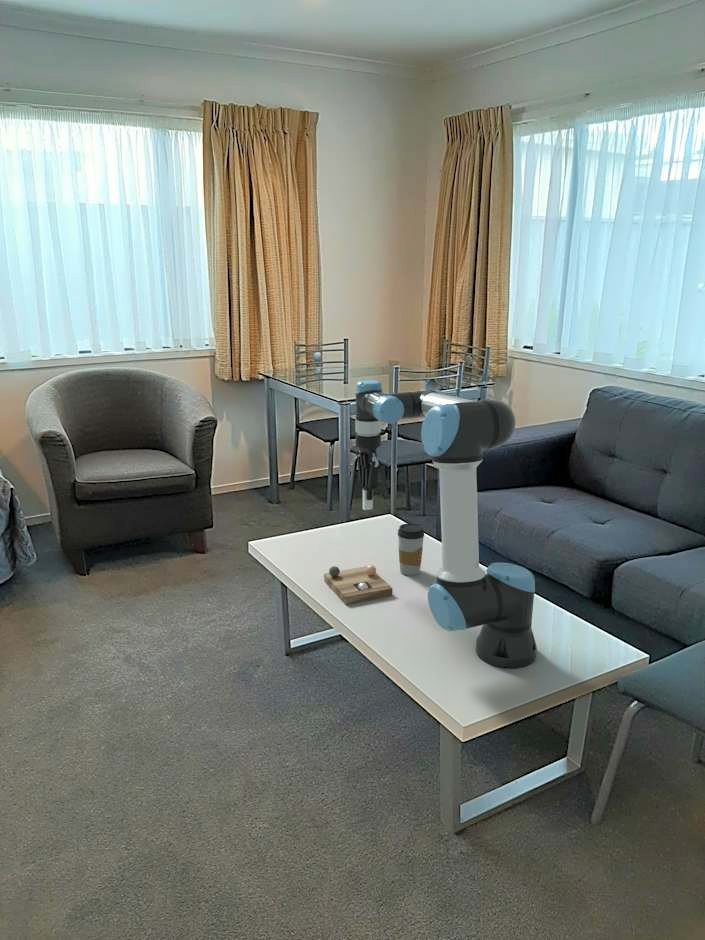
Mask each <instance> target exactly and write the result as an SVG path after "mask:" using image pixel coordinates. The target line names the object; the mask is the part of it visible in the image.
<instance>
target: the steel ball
mask: <svg viewBox="0 0 705 940" xmlns="http://www.w3.org/2000/svg"><path fill="white" fill-rule="evenodd" d="M357 589H358V590H365V589H369V588H368V585H367V584H366V583H360V584H359V585H358V586H357Z"/></svg>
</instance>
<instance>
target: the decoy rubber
mask: <svg viewBox="0 0 705 940" xmlns="http://www.w3.org/2000/svg"><path fill="white" fill-rule="evenodd" d="M340 571H341V570H340V568H339V567H338V566H336V565H335V566H331V567H330V568H329V569H328V573H330V575H331V576H333V577H336V576H338V575H339V573H340Z"/></svg>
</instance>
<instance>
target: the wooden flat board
mask: <svg viewBox="0 0 705 940" xmlns="http://www.w3.org/2000/svg"><path fill="white" fill-rule="evenodd" d="M367 566H368V565H365V566H362V567H356V568H355V567H354V568H350V569H344V570H340V573H339V575H338V576H336V577H333V576H331V575H330V573H329V572H325V573H323V581H324V583H325V584H326V585H327V586H328V587H329V588H330V589H331V591H333V593H334V594H335V595H336V596H337V597H338V598H339V600H340V601H341V602H342V603H343V604H344V605H350V604H357V603H361V602H367V601H371V600H372V601H373V600H376V599H378V600H379V599H381V598H387V597H392V596H393V587H392V586H391V585H390V584H389V583H388V582H387V581H386V580H385V579H383V577H381V575H379V574H378V573H377V572H376V573H375V574H374V575H372V576H370V575H368V574H367V573H366V568H367ZM360 583H366V584H367V585H368V588H369V589H365V590H358V589H357V586H358V585H359V584H360Z"/></svg>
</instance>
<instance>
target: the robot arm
mask: <svg viewBox="0 0 705 940" xmlns="http://www.w3.org/2000/svg"><path fill="white" fill-rule="evenodd" d="M354 394H355V420H354V421H355V426H354V427H355V433H356V434H355V446H356V447H357V448H359V450H358V451H355V455H356V461H357V462H356V463H357V470H358V471H357V472H358V482H359V484H361V487H362V510H363V511H368V510H373V508H374V507H373V506H374V499H373V498H374V490H376V489H377V487H378V479H379V472H380V467H381V464H382V462H381V460H378V458H377V457H378V453H377V449H378V448H380V447H381V445H382V434H381V432H382V424H383V423H384V424H388V425H392V424H396V423H398V421H400V420H408V419H417V418H418V419H419V418H423V421H422V424H421V431H420V432H421V433H420V436H421V444H422V445H423V449H424V452H425V453H426V454H427V455H428V456H431V459H432V463H433V464H434V465H435V466H436V467H437V468H438V470H439V471H438V473H439V474H438V475H439V498H440V499H439V500H440V503H439V504H440V526H441V528H440V529H441V554H442V555H441V556H442V557H441V559H442V560H441V561H442V566H441V568H440V569H439V570H437V572H436V583H433V584H432V585H430V586H429V588H428V590H427V602H428V606H429V607H428V608H429V610H430V612H431V615H432V617H433V619H434V620H435V622H436V623H437V625H439V627H441V629H443V630H444V631H447V632H456V631H464V630H465V631H466V630H467V629H470V628H471V629H472V628H475V627H479V626H482V627H481V629H480V632H479V634H478V636H477V638H476V641H475V653H476V655H477V656H478V658H479V659H481V660H482V661H483V660H484V662H485V663H487V664H489V663H490V664H489V665H492V664H493V665H492V666H494V665H496V666H495V667H498V666H500V667H499V668H504V667H507V668H506V669H517V668H516V667H520V668H524V667H526V666H529V664H530V665H531V664H533V663H534V662H535V661H536V658H537V653H538V652H537V651H538V650H537V649H538V647H537V643H536V639H535V635H534V632H533V628H532V624H533V613H534V612H533V610H534V600H535V592H536V587H535V584H536V582H535V581H536V579H535V576H534V574H533V572H531V571H530V570H528V569H527V568H526V567H523V566H520V565H518V564H514V563H510V562H493V563H490V564H489V565H488V566H487V569H486V571H485V570H484V569H483V568H482V567H480V560H479V559H480V557H479V554H480V553H479V551H480V550H479V529H478V528H479V524H478V523H479V520H478V519H479V518H478V514H479V512H478V485H477V484H478V483H477V480H478V479H477V477H478V476H477V468H478V466H479V465H480V464H481V463H482V462H483V458H484V457H483V451H486V450H494V449H496V448H500V447H502V446H503V445H504V444H506V443H507V442H508V441H510V439H511V438H512V437H513V434H514V432H515V429H516V416H515V414H514V411H513V410H512V409H511V407H510V406H509V405H508V404H506V403H505V402H504V401H501V400H495V399H487V398H486V399H481V400H472V399H467V398H462V397H457V396H454V395H452V396H451V395H447V394H444V393H443V391H442V390H440V389H427V390H416V391H415V390H414V391H405V392H404V391H403V392H391V393H390V392H389V393H385V392H383V386H382V383H381V381H380V380H374V379H367V380H366V379H365V380H359V381H357V382H356V388H355V393H354ZM532 662H533V663H532Z"/></svg>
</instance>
